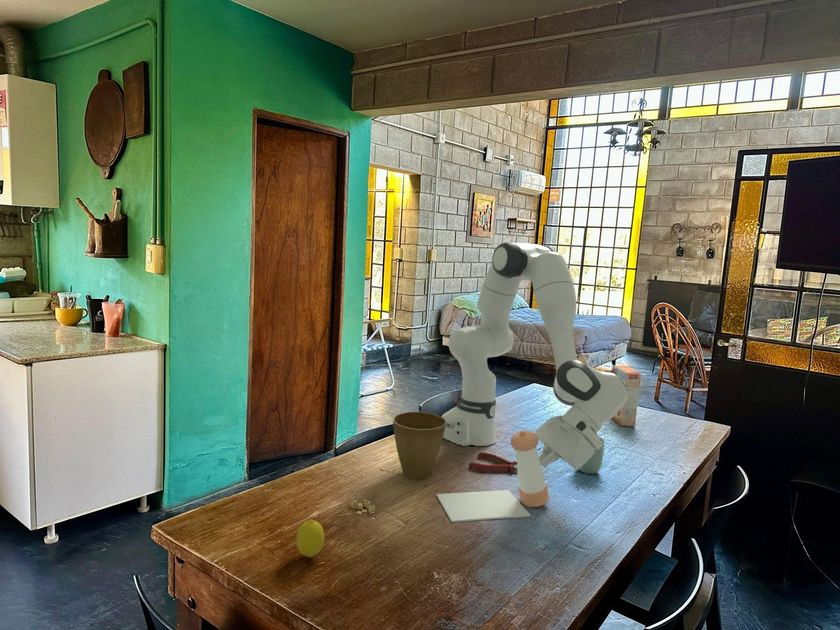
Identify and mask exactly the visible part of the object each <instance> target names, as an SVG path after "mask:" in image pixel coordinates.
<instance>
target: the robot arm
mask: <svg viewBox="0 0 840 630" xmlns="http://www.w3.org/2000/svg"><path fill="white" fill-rule="evenodd" d="M491 259H492V260H491V265H490V267H489V269H488V271H487V273H486V275H485V277H484V280H483V282H482V287H481V290H480V293H479V296H478V299H477V302H476V308H477V310H478V311H479V313H480V314H481V321H480V323H479V325H467V326H463V327H461V328H458V329H456V330H454V331H452V332H451V334H450V335H449V338H448V348H449V351H450V353H451V355H452V357H454V358H455V359H456V361H458V364H459V366H460V370H461V374H462V383H461V384H462V388H461V396H458V397H456V398H454V403H457V404H456V406H454V407H453V408H450V410H448V411H446V412H445V413H443V414H442V416H441V417H442V418H444V419H445V420H446V426H445V431H444V435H443V438H445V439H444V440H446V439H447V441H448V440H449V442H450V441H451V443H453V442H454V443H453V444H455V443H456V445H458V444H459V445H458V446H460V445H462V447H470V446H469V445H474V446H475V447H484V446H490V445H494V444H495V443H497V441H498V439H497V435H496V426H495V416H496V407H497V405H496V403H497V400H496V384H497V377H496V375H495V373H493V371H491V370H490V369H489V365H488V358H495V357H500V356H502V355H504V354H506V353H509V352H510V351H511V350H512V349H513V346H514V342H515V337H514V334H513V332H512V330H511V329H510V315H511V311H512V309H513V305H514V302H515V300H516V297H517V293H518V290H519V287H520V283H521V282H522V281H531V283H532V284H531V285H532V289H533V295H534V298H535V303H536V306H537V308H538V311H539V313H540V316H541V319H542V321H543V324H544V326H545V329H546V332H547V334H548V337H549V340H550V345H551V349H552V355H553V359H554V365H555V375H554V380H553V385H552V390H553V394H554V396H555V398H556V399H557V401H559V402H560V403H561V404H563V405H565V406H570V407H569V409H568V410H567V411H566V412H565V413H564V414H563V415H561V414H560V415H556V416H553V417H550V418H549V419H547V420H546V421H545V422H543V423H542V424H541V425H540V426H539V427H538V428H537V429H536V430H535V431H534V433H535V434H536V435H537V437H538V439H539V441H538V442H540V443H541V444H542V445H544V447H543V448H542V450H541V452H540V455H538V457H539V461H540V464H541V467H542V468H543V469H544V468H547V467H548V466H549V465H550V464H553V463H555V462H557V461H559V460H560V459H561V460H562V461H564V462H565V463H566V464H567V465H569V466H570V467H572V468H573V469H574V470H577V469H578V468H580V467H581V466H583V465H584V464H585V463H586V462H587V461H588V460H589V459H590V458H591V457H592V455H593V454H594V452H595V449H597V450H598V449H600V448H601V447H602V446H603V443H602V441H601V440H600V438H601V437H600V436H599V434H598V432H599V431H601V429H602V427H603V426H604V424H605V423H606V422H608V421H609V420H611V419H613V418H612V417H613V416H614V415H615V414H616V413H617V412H618V411H619V410H620V408H621V407H622V406H623V405H624V403H625V402H626V400H627V398H628V390H627V388H626V386H625V384H624V383H623V382H622V380H621V379H620V378H619V377H618V376H616V375H615V374H613V372H607V371H606V372H605V371H602V370H599V369H596V368H594V367H591V366H589V365H587V364H586V363H584V362H583V361H580V360H578V356H577V351H576V346H575V341H574V324H575V319H576V313H577V312H576V311H577V296H576V295H577V294H576V289H575V285H574V282H573V277H572V274H571V272H570V269H569V266H568V264H567V262H566V260H565V258H564V256H563V255H562V254H561V253H559V251H557V250H556V249H555V248H552V247H551V246H543V245H541V244H536V243H528V242H527V243H525V242H524V243H523V242H514V241H506V242H502V243H500V244H499V245H497V246H496V248H495V249H494V252H493V254H492V258H491ZM599 437H600V438H599ZM474 446H473V447H474Z"/></svg>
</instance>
